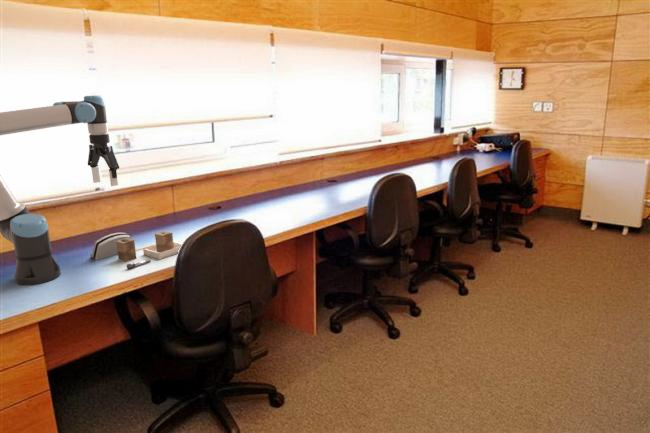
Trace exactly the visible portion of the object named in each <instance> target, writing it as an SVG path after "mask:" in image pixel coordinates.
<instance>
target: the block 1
mask: <svg viewBox="0 0 650 433" xmlns="http://www.w3.org/2000/svg"><path fill="white" fill-rule="evenodd" d="M116 244H117V251H118V253H117V257H118V260H119V261H122V262H124V263H126V262H129V261H133V260H136V259H137V251H135V250H136V244H135V239H132V238H131V239H129V238H125V239H122V240H118V241H116Z"/></svg>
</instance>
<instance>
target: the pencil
mask: <svg viewBox="0 0 650 433" xmlns="http://www.w3.org/2000/svg"><path fill="white" fill-rule="evenodd" d="M154 245H156V243H155V244H151V245H148V246H145V247H141V248H138V249H137V248H136V249H135V251H136V252H137V251H141V250H143V249H144V248H148V247H151V246H154Z"/></svg>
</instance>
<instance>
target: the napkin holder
mask: <svg viewBox="0 0 650 433" xmlns="http://www.w3.org/2000/svg"><path fill="white" fill-rule="evenodd" d="M125 238H129V239H132V238H131V236H130V235H129V234H128V233H126V232H114V233H110V234H107V235H105V236H103V237H100V238H98V239H97V240H96V241H94V243H93V249H92V253H91V254H90V259H93V258H94V260H96V261H98V260H101V259H104V258H107V257H111V256H114V255H118V251H117V244H116V241H118V240H122V239H125Z"/></svg>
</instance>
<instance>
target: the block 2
mask: <svg viewBox="0 0 650 433" xmlns="http://www.w3.org/2000/svg"><path fill="white" fill-rule="evenodd" d="M154 236H155V237H154V238H155V244H156V248H157V252H163V251H166V250H169V249H172V248H174V245H173V241H174V236H173V232H171V231H168V230H163V231H160V232H156V233H154Z"/></svg>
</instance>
